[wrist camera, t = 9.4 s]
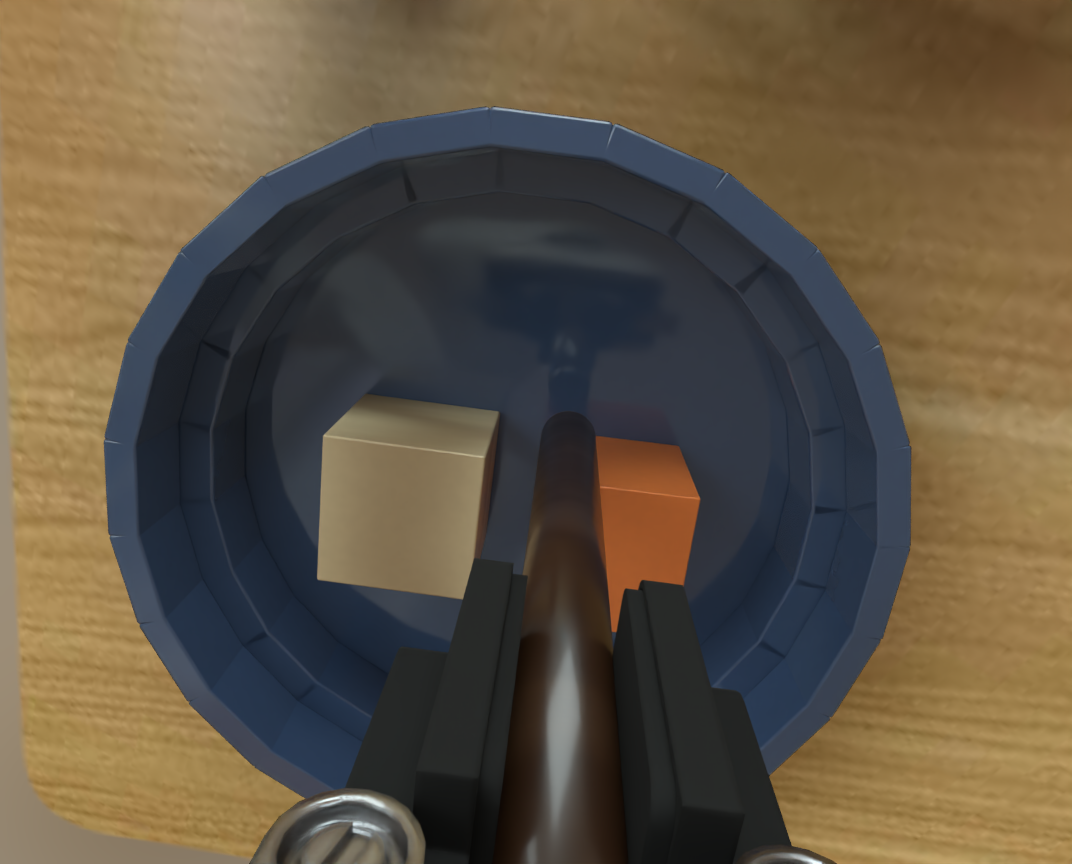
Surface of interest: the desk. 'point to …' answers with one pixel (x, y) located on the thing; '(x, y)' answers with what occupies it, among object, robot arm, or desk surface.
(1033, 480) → the desk surface
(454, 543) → the pale block
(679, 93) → the desk surface
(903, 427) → the bowl
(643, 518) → the orange block
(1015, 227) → the desk surface
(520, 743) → the stick
